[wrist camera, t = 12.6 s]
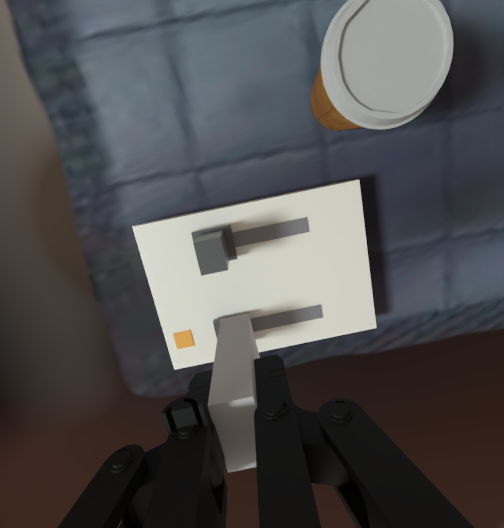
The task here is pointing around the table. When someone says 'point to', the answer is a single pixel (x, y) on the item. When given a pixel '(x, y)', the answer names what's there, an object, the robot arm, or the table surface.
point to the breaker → (214, 248)
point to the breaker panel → (264, 271)
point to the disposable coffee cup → (381, 63)
